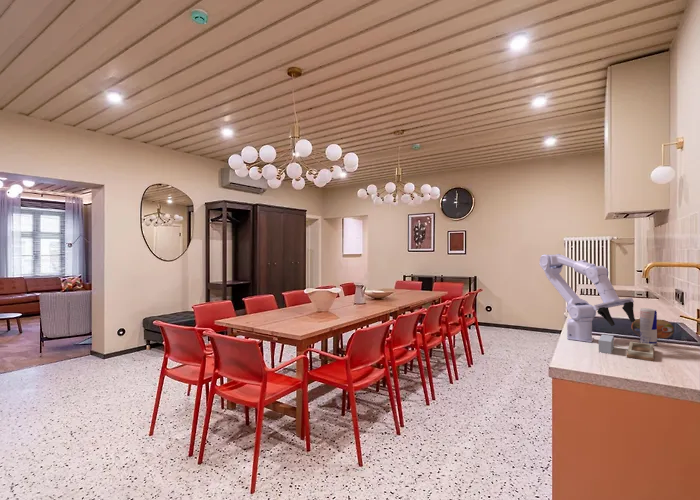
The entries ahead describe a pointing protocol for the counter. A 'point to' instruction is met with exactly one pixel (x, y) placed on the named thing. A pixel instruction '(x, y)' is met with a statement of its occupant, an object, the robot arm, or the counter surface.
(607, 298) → the robot arm
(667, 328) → the tin
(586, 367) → the counter surface
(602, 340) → the grey box
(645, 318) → the beverage can
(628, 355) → the framed wooden panel
